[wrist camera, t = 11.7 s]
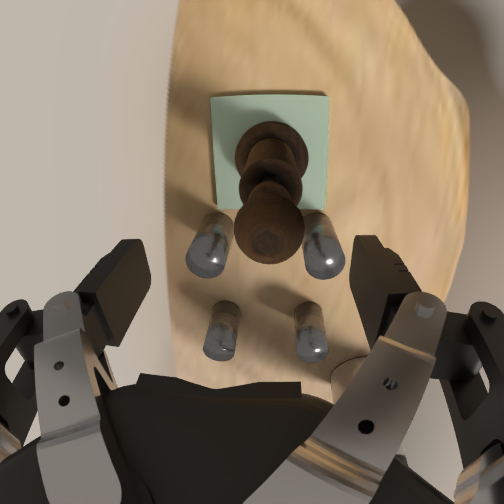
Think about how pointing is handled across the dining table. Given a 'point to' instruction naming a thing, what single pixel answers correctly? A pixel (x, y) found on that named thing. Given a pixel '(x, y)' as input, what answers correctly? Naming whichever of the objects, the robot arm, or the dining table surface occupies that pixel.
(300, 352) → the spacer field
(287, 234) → the wooden pepper mill
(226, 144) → the green mat
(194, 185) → the dining table surface
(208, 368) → the dining table surface
